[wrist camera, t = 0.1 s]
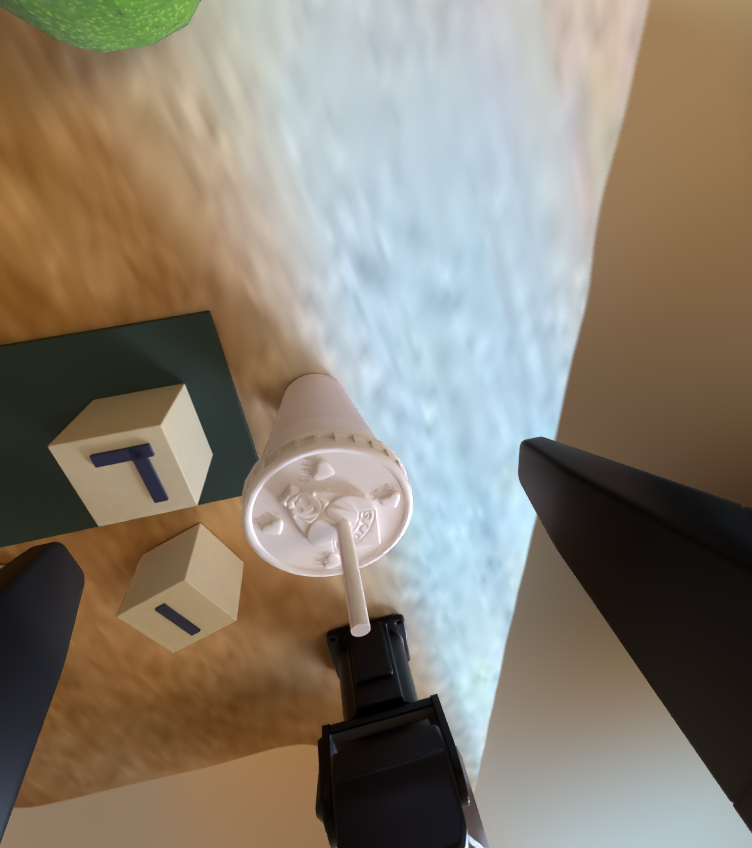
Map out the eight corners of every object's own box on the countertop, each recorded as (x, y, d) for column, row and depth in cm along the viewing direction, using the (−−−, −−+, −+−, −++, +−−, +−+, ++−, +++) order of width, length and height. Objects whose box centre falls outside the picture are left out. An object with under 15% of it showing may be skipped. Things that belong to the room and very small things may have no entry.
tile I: (244, 562, 28) (236, 623, 24) (189, 591, 28) (172, 656, 24) (200, 522, 25) (184, 581, 21) (141, 554, 26) (114, 619, 22)
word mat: (267, 486, 25) (267, 490, 25) (-83, 561, 23) (-88, 567, 23) (209, 310, 20) (208, 312, 19) (-256, 388, 18) (-268, 391, 17)
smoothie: (326, 468, 25) (361, 710, 13) (234, 416, 22) (171, 664, 10) (392, 391, 24) (501, 589, 11) (301, 325, 21) (319, 494, 9)
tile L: (213, 454, 23) (197, 507, 19) (131, 471, 22) (97, 529, 18) (184, 382, 21) (159, 426, 17) (92, 399, 20) (44, 448, 16)
